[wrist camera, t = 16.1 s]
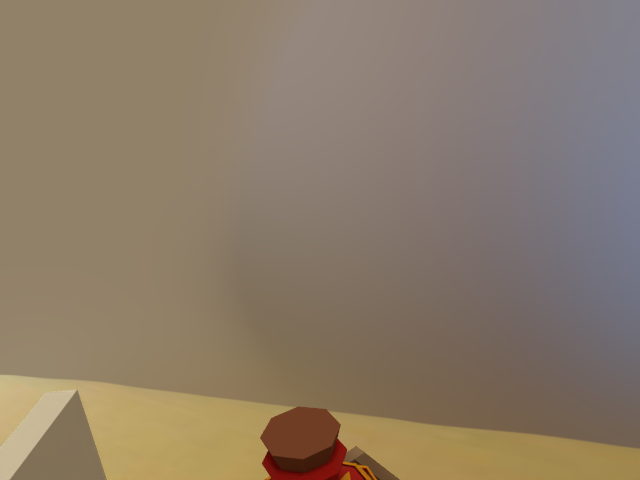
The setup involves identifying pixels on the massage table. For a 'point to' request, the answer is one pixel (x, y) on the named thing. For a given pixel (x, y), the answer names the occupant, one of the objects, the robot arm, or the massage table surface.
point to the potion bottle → (308, 448)
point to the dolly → (368, 464)
